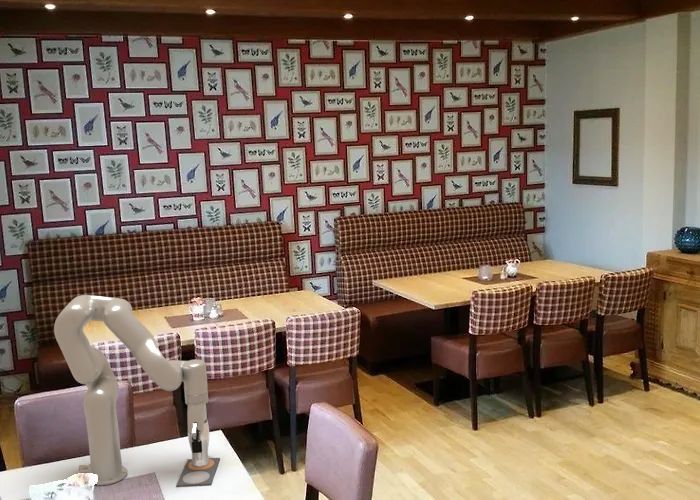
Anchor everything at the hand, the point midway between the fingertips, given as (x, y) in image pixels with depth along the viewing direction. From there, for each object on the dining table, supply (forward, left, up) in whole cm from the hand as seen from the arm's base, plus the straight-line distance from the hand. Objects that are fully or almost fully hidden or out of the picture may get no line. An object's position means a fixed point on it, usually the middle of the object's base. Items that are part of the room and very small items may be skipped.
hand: (199, 446), depth 238 cm
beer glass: (0, 0, -6) cm, 7 cm away
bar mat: (0, -5, -7) cm, 8 cm away
